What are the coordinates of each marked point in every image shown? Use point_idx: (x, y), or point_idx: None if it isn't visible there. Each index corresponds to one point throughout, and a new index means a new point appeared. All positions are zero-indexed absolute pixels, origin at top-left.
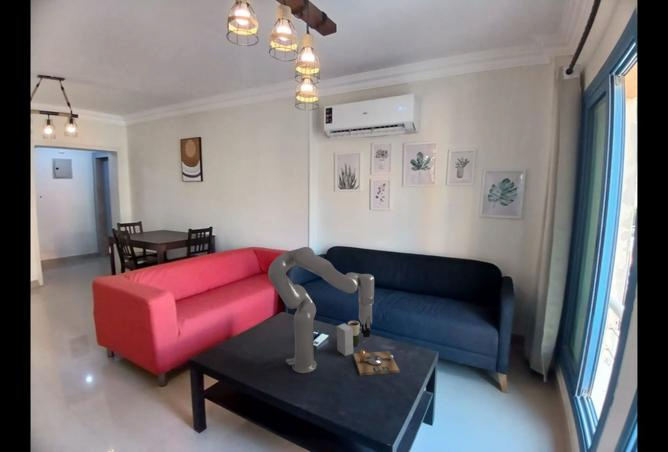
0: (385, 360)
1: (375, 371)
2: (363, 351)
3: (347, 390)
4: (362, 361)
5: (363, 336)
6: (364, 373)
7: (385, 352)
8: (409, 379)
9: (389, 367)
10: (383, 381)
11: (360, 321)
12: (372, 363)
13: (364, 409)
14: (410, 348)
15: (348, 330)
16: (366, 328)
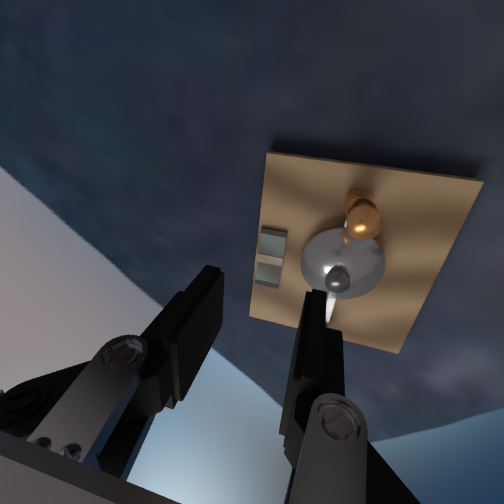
0: None
1: (260, 229)
2: (352, 227)
3: (170, 43)
4: (345, 199)
5: (205, 268)
6: (265, 175)
7: (395, 337)
8: None
9: (274, 294)
10: (213, 233)
11: (83, 495)
12: (309, 241)
13: (65, 94)
14: (392, 421)
15: None
16: (36, 382)
